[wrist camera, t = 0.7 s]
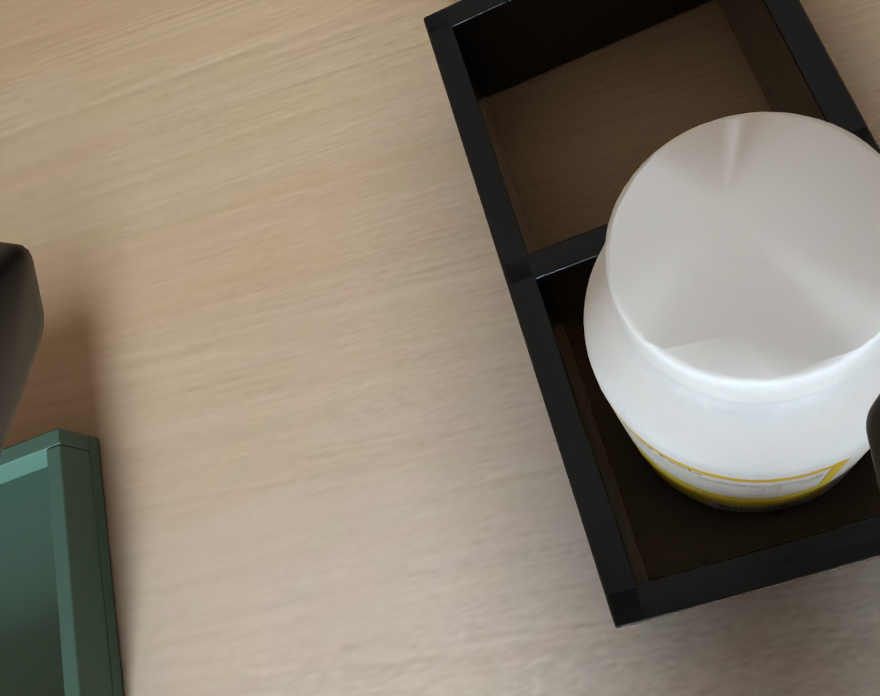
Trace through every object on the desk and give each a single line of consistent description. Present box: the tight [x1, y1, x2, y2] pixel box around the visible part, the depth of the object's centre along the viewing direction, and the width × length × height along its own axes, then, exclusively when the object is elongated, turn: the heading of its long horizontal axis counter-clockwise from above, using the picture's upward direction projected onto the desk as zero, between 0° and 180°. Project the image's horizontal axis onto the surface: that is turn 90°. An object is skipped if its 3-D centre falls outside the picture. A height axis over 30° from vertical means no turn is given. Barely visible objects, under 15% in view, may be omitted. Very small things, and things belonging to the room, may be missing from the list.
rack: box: [424, 0, 880, 628], centre depth 23 cm, size 19×10×4 cm, turn 15°
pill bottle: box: [584, 112, 880, 514], centre depth 18 cm, size 6×6×12 cm
